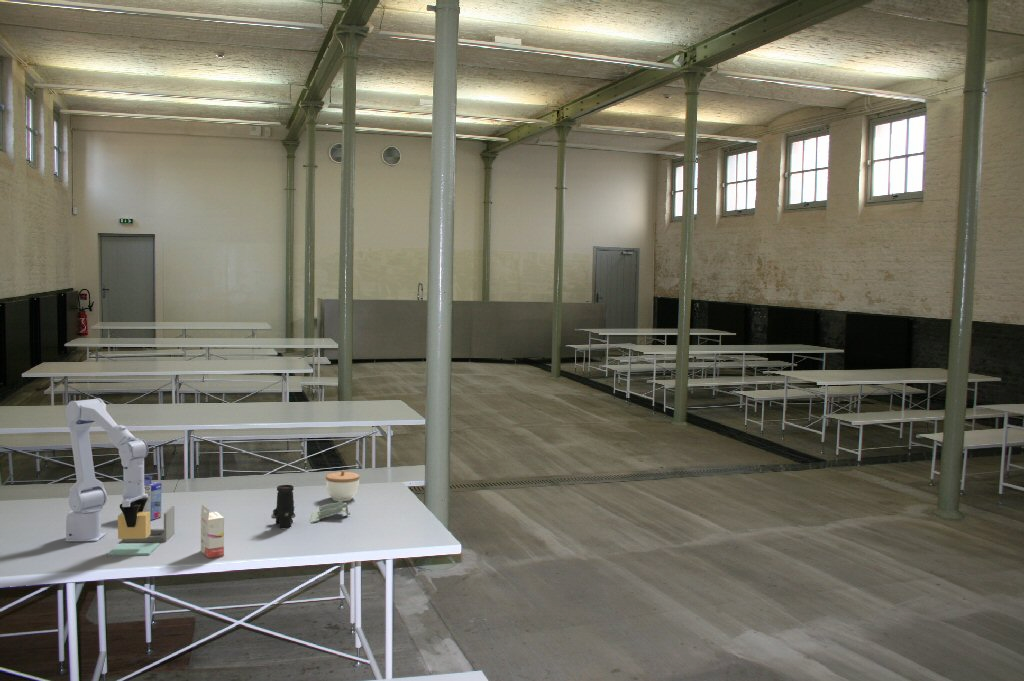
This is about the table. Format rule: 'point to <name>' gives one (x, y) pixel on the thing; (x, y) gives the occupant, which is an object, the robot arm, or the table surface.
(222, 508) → the table surface
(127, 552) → the teal pad
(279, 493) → the scope
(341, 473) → the lidded bowl
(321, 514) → the metal bracket
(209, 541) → the ink cartridge box
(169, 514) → the grey angular piece
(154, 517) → the ink cartridge box
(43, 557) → the table surface
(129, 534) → the orange rectangular block
